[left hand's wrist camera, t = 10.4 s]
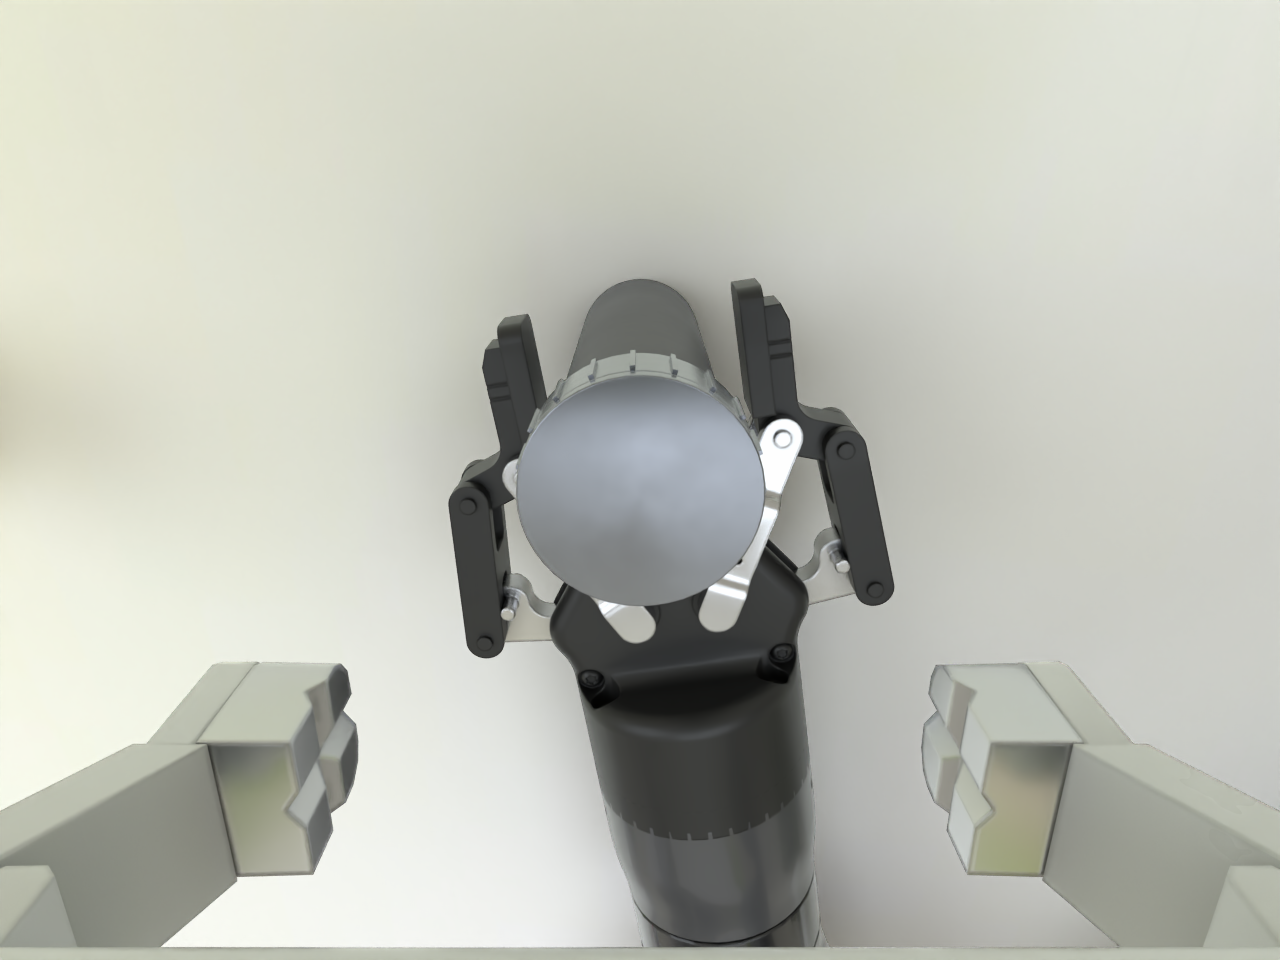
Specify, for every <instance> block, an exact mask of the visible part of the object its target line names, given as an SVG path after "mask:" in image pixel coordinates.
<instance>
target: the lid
mask: <svg viewBox="0 0 1280 960" xmlns="http://www.w3.org/2000/svg"><path fill="white" fill-rule="evenodd" d="M527 432H529V433H530V435H529V437H528V440H527V442H526V443H524V446H523V448H522V451H521V453H520V456H519V459H518V461H517V464H516V468H515V469H517V470H518V472H517V478H516V501H517V510H518V514H519V518H520V522H521V525H522V527H523V530H524V532H525V535H526V537H527V539H528V541H529V543H530V545H531V546H532V548H533V550H534V551H535V553H536V554H537V555H538V557H539V558H540V559H541V561H542V562H543V563H544V564H545V565H546V566H547V567H548V568H549V569H550V570H551V571H552V572H553V573H554V574H555V575H556V576H557V577H559V578H560V579H561V580H562V581H564V582H565V583H566V584H568V585H570V586H571V587H573V588H575V589H576V590H578V591H580V592H582V593H584V594H586V595H588V596H591V597H593V598H596V599H599V600H602V601H605V602H609V603H614V604H619V605H627V606H655V605H662V604H668V603H672V602H676V601H679V600H683V599H686V598H688V597H691V596H693V595H695V594H698V593H700V592H702V591H703V590H705V589H707V588H709V587H711V586H712V585H714V584H715V583H716V582H718V581H719V580H720V579H722V578H723V577H724V576H725V575H726V574H728V573H729V572H730V571H731V570H732V569H733V568H734V567H735V566H736V565H737V563H738V562H739V561H740V560H741V559H742V557H743V556H744V555H745V553H746V552H747V550H748V549H749V547H750V545H751V544H752V542H753V540H754V538H755V536H756V534H757V531H758V529H759V526H760V523H761V520H762V516H763V512H764V505H765V496H766V490H767V488H766V483H765V475H764V468H763V465H762V461H761V458H760V455H763V452H762V449H761V446H760V444H759V441H758V439H757V436H756V434H755V431H754V429H753V430H750V428H749V426H748V423H747V421H746V416H745V414H744V411H743V408H742V406H741V403H740V401H739V399H738V397H737V396H735V397H734V398H733V397H732V396H731V395H730V393H729V392H728V391H727V390H726V388H724V387H723V386H722V385H721V384H720V383H719V382H718V381H717V380H716V379H715V378H713V375H712V372H711V371H709V370H707V371H706V372H705V371H703V370H702V369H700V368H698V367H696V366H694V365H692V364H690V363H688V362H685V361H682V360H680V359H677V358H676V355H675V354H671V355H670V357H669V356H665V355H660V354H651V353H636V350H630V353H629V354H622V355H617V356H611V357H608V358H605V359H602V360H599V361H597V360H596V358H595V359H592V360H591V364H590V365H588V366H585V367H583V368H582V369H580V370H579V371H577V372H575V373H574V374H572V375H571V376H570V377H568V378H567V379H566V380H565V381H564V380H563V379H560V380H559V381H558V384H557V386H556V389H555V390H554V392H553V393H552V394H551V395H550V396H549V397H548V399H547V400H546V402H545V403H544V405H543V406H542V408H541V409H538V408H537V409H536V411H535V413H534V415H533V418H532V420H531V423H530V425H529V428H528V430H527Z"/></svg>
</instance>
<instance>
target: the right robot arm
mask: <svg viewBox="0 0 1280 960" xmlns="http://www.w3.org/2000/svg"><path fill="white" fill-rule="evenodd" d="M731 292H732V301H733V309H734V317H735V326H736V334H737V342H738V351H739V359H740V367H741V376H742V384H743V392H744V399H745V401H746V404H747V406H748V409H749V411H750V413H751V416H750V418H749V421H748V426H749V428H750V430H753V429H754V431H755V434H756V436H757V439H758V441H759V444H760V446H761V449H762V452H763V455H760V458H761V461H762V465H763V468H764V475H765V483H766V488H767V490H766V496H765V505H764V512H763V516H762V520H761V523H760V526H759V529H758V531H757V534H756V536H755V538H754V540H753V542H752V544H751V545H750V547H749V549H748V550H747V552H746V553H745V555H744V556H743V557H742V559H741V560H740V561H739V562H738V563H737V565H736V566H735V567H734V568H733V569H732V570H731V571H730V572H729V573H728V574H726V575H725V576H724V577H723V578H722V579H720V580H719V581H718V582H716V583H715V584H714V585H712V586H711V587H709V588H707V589H705V590H703V591H702V592H700V593H698V594H695V595H693V596H691V597H688V598H686V599H683V600H679V601H676V602H672V603H668V604H662V605H655V606H627V605H619V604H614V603H609V602H605V601H602V600H599V599H596V598H593V597H591V596H588V595H586V594H584V593H582V592H580V591H578V590H576V589H575V588H573V587H571V586H570V585H568V584H566V583H565V582H564V583H563V585H562V587H561V589H560V591H559V593H558V594H557V596H556V598H555V600H554V603H548V602H544V601H542V600H540V599H539V598H538V597H537V596H536V595H535V594H534V592H533V589H532V585H531V583H530V582H529V580H528V579H527V578H525V577H524V576H523V575H521V574H518V573H516V574H511V568H510V558H509V549H508V540H507V530H506V521H505V512H504V504H505V503H507V502H509V501H511V500H513V499H516V478H517V472H518V470H517V469H515V468H516V464H517V461H518V459H519V456H520V453H521V451H522V448H523V446H524V443H526V442H527V440H528V437H529V435H530V433H529V432H527V430H528V428H529V425H530V423H531V420H532V418H533V415H534V413H535V411H536V409H537V408H538V409H541V408H542V406H543V405H544V403H545V402H546V400H547V396H546V391H545V386H544V381H543V376H542V372H541V367H540V362H539V357H538V352H537V347H536V343H535V338H534V333H533V328H532V324H531V320H530V317H529V315H528V314H524V315H518V316H512V317H506V318H504V319H503V320H502V322H501V323H500V324H499V325H498V328H497V335H498V339H494V340H492V342H491V343H490V344H489V346H488V347H487V348H486V349H485V354H484V360H483V366H482V369H483V373H484V378H485V382H486V386H487V391H488V395H489V399H490V403H491V408H492V412H493V416H494V421H495V425H496V429H497V434H498V438H499V442H500V451H499V452H497V453H496V454H494V455H492V456H490V457H489V458H487V459H485V460H475V461H473V462H471V463H470V464H469V465H468V466H467V467H466V469H465V471H464V472H463V474H462V478H461V481H460V483H459V484H458V486H457V487H456V488H455V489H454V491H453V493H452V494H451V496H450V499H449V513H450V521H451V528H452V536H453V543H454V551H455V558H456V566H457V574H458V581H459V589H460V596H461V604H462V611H463V619H464V626H465V634H466V642H467V646H468V648H469V650H470V651H471V652H472V653H473V654H474V655H476V656H478V657H481V658H492V657H495V656H497V655H498V654H500V652H501V651H502V650H503V647H504V644H505V642H524V641H553V643H554V644H555V646H556V647H557V649H558V650H559V651H560V652H561V653H562V654H563V655H564V656H565V657H566V658H567V659H568V661H569V662H570V663H571V665H572V667H573V669H574V672H575V675H576V679H577V684H578V688H579V692H580V697H581V701H582V706H583V710H584V715H585V719H586V724H587V728H588V733H589V737H590V742H591V746H592V751H593V755H594V760H595V765H596V769H597V774H598V779H599V783H600V788H601V792H602V797H603V801H604V806H605V810H606V814H607V819H608V823H609V828H610V833H611V837H612V840H613V844H614V848H615V850H616V853H617V856H618V859H619V861H620V864H621V867H622V869H623V871H624V874H625V876H626V878H627V881H628V884H629V887H630V891H631V896H632V900H633V905H634V910H635V914H636V919H637V923H638V928H639V933H640V937H641V941H642V947H829V944H828V942H827V940H826V937H825V935H824V932H823V929H822V927H821V922H820V910H819V901H818V892H817V883H816V874H815V865H814V856H813V854H814V839H815V804H814V793H813V785H812V776H811V767H810V758H809V747H808V738H807V729H806V720H805V710H804V701H803V692H802V683H801V674H800V664H799V655H798V646H797V636H798V631H799V628H800V625H801V623H802V621H803V619H804V617H805V615H806V613H807V610H808V606H809V605H810V604H814V603H818V602H823V601H827V600H831V599H835V598H839V597H843V596H847V595H851V594H856V596H857V597H858V599H859V600H860V601H861V602H862V603H864V604H866V605H870V606H876V605H880V604H883V603H885V602H886V601H887V600H889V598H890V597H891V596H892V594H893V592H894V582H893V577H892V572H891V567H890V562H889V557H888V552H887V547H886V542H885V537H884V532H883V527H882V522H881V517H880V512H879V507H878V502H877V497H876V492H875V487H874V482H873V477H872V472H871V467H870V462H869V457H868V452H867V447H866V443H865V441H864V439H863V437H862V436H861V435H860V434H859V432H858V431H857V430H856V428H855V427H854V426H853V424H852V423H851V422H850V420H849V419H848V418H847V417H846V415H845V414H844V413H843V412H842V411H841V410H839V409H837V408H833V407H828V408H824V409H818V408H813V407H808V406H804V405H802V404H800V403H799V402H798V401H797V392H796V382H795V372H794V361H793V354H792V353H793V351H792V342H791V330H790V320H789V318H788V316H787V314H786V313H785V311H784V309H783V307H782V305H781V303H780V302H779V301H778V300H777V299H776V298H775V297H774V296H767V297H763V292H762V288H761V285H760V284H759V283H758V281H757V280H756V279H755V278H752V279H746V280H740V281H734V282H731ZM797 456H799V457H805V458H810V459H816V460H817V462H818V466H819V471H820V475H821V480H822V484H823V489H824V493H825V497H826V502H827V506H828V511H829V515H830V520H831V524H832V528H828V529H824V530H823V531H822V532H820V533H819V534H818V535H817V537H816V539H815V541H814V555H813V557H812V559H811V560H810V562H809V563H808V564H806V565H805V566H803V567H801V568H797V566H796V565H795V564H794V563H793V562H792V561H791V560H790V559H789V558H788V557H787V556H786V555H785V554H784V553H783V552H782V551H780V550H779V549H778V548H777V547H776V546H775V545H774V544H773V543H772V542H771V541H770V540H769V539H768V538H769V536H770V533H771V531H772V528H773V526H774V524H775V521H776V519H777V516H778V513H779V510H780V504H781V495H782V492H783V489H784V487H785V484H786V482H787V479H788V477H789V474H790V472H791V470H792V467H793V465H794V462H795V460H796V457H797Z"/></svg>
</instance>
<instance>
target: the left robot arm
mask: <svg viewBox="0 0 1280 960" xmlns="http://www.w3.org/2000/svg"><path fill="white" fill-rule="evenodd" d="M350 696H351V688H350V683H349V677H348V672H347V670H346V669H345V668H344V667H343V665H342V664H330V663H282V662H262V663H259V662H221V663H218V664H214V665H212V666H211V667H210V668H209V669H208V671H207V672H206V673H205V674H204V675H203V677H202V678H201V679H200V680H199V681H198V683H197V684H196V685H195V686H194V687H193V689H192V690H191V691H190V692H189V693H188V695H187V696H186V697H185V698H184V699H183V701H182V702H181V703H180V704H179V705H178V707H177V708H176V709H175V710H174V711H173V712H172V714H171V715H170V716H169V717H168V718H167V720H166V721H165V722H164V723H163V724H162V726H161V727H160V728H159V729H158V730H157V732H156V733H155V734H154V735H153V736H152V738H151V739H150V740H149V741H148V742H147V744H132V745H130V746H128V747H126V748H124V749H122V750H120V751H118V752H116V753H114V754H112V755H110V756H108V757H106V758H104V759H102V760H100V761H98V762H96V763H94V764H92V765H90V766H88V767H86V768H84V769H82V770H81V771H79V772H77V773H75V774H73V775H71V776H69V777H67V778H65V779H63V780H61V781H59V782H57V783H55V784H53V785H51V786H49V787H47V788H45V789H43V790H41V791H39V792H37V793H35V794H33V795H31V796H29V797H27V798H25V799H23V800H21V801H19V802H17V803H15V804H13V805H11V806H9V807H7V808H5V809H3V810H1V811H0V960H1280V811H1278V810H1276V809H1274V808H1272V807H1270V806H1269V805H1267V804H1265V803H1263V802H1261V801H1259V800H1257V799H1255V798H1253V797H1251V796H1249V795H1247V794H1245V793H1243V792H1241V791H1239V790H1237V789H1235V788H1233V787H1231V786H1229V785H1227V784H1225V783H1223V782H1221V781H1219V780H1217V779H1215V778H1213V777H1211V776H1209V775H1207V774H1205V773H1203V772H1201V771H1199V770H1197V769H1195V768H1193V767H1191V766H1189V765H1187V764H1186V763H1184V762H1182V761H1180V760H1178V759H1176V758H1174V757H1172V756H1170V755H1168V754H1166V753H1164V752H1162V751H1160V750H1158V749H1156V748H1154V747H1152V746H1150V745H1148V744H1133V742H1132V741H1131V740H1130V739H1129V738H1128V736H1127V735H1126V734H1125V733H1124V732H1123V730H1122V729H1121V728H1120V727H1119V726H1118V725H1117V723H1116V722H1115V721H1114V720H1113V719H1112V717H1111V716H1110V715H1109V714H1108V713H1107V711H1106V710H1105V709H1104V708H1103V707H1102V705H1101V704H1100V703H1099V702H1098V701H1097V699H1096V698H1095V697H1094V696H1093V695H1092V693H1091V692H1090V691H1089V690H1088V689H1087V687H1086V686H1085V685H1084V684H1083V683H1082V682H1081V680H1080V679H1079V678H1078V677H1077V676H1076V674H1075V673H1074V672H1073V671H1072V670H1071V668H1070V667H1069V666H1068V665H1066V664H1064V663H1061V662H1059V661H1053V662H1025V663H1007V664H960V665H936V666H935V669H934V671H933V673H932V676H931V681H930V687H929V696H930V698H931V700H932V702H933V704H934V705H935V707H936V709H937V711H936V712H935V713H934V714H933V715H932V716H931V717H930V719H929V720H928V721H927V722H926V723H925V724H924V729H923V738H922V747H921V748H922V761H923V771H924V775H925V779H926V783H927V787H928V789H929V791H930V794H931V796H932V798H933V801H934V803H936V804H937V805H939V806H940V807H941V808H943V809H944V810H945V811H947V812H948V813H949V819H948V826H947V832H948V834H949V836H950V839H951V841H952V843H953V845H954V847H955V849H956V852H957V854H958V856H959V858H960V860H961V863H962V865H963V867H964V869H965V871H966V873H967V875H993V876H1029V877H1043V881H1044V882H1045V883H1046V884H1047V885H1048V886H1050V887H1051V888H1052V889H1053V890H1054V891H1055V892H1057V893H1058V894H1059V895H1060V896H1061V897H1062V898H1064V899H1065V900H1066V901H1067V902H1068V903H1069V904H1071V905H1072V906H1073V907H1074V908H1075V909H1076V910H1078V911H1079V912H1080V913H1081V914H1082V915H1083V916H1085V917H1086V918H1087V919H1088V920H1089V921H1090V922H1092V923H1093V924H1094V925H1095V926H1096V927H1097V928H1098V929H1100V930H1101V931H1102V932H1103V933H1104V934H1105V935H1107V936H1108V937H1109V938H1110V939H1111V940H1112V941H1114V942H1115V943H1116V944H1117V945H1118V946H1119V947H161V946H162V945H163V944H164V943H166V942H167V941H168V940H169V939H170V938H171V937H173V936H174V935H175V934H176V933H177V932H178V931H179V930H181V929H182V928H183V927H184V926H185V925H186V924H188V923H189V922H190V921H191V920H192V919H193V918H195V917H196V916H197V915H198V914H199V913H200V912H202V911H203V910H204V909H205V908H206V907H207V906H209V905H210V904H211V903H212V902H213V901H214V900H216V899H217V898H218V897H219V896H220V895H221V894H223V893H224V892H225V891H226V890H227V889H228V888H230V887H231V886H232V885H233V884H234V883H235V882H237V877H250V876H285V875H313V874H314V871H315V869H316V867H317V865H318V863H319V861H320V858H321V856H322V854H323V852H324V850H325V847H326V845H327V843H328V841H329V839H330V836H331V834H332V832H333V826H332V819H331V813H332V812H333V811H335V810H336V809H337V808H339V807H340V806H341V805H343V804H344V803H346V801H347V798H348V796H349V794H350V791H351V789H352V787H353V784H354V779H355V774H356V769H357V763H358V736H357V728H356V724H355V723H354V722H353V721H352V720H351V719H350V717H349V716H348V715H347V714H346V713H345V712H344V711H343V709H344V707H345V706H346V704H347V702H348V700H349V698H350Z"/></svg>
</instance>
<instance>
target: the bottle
mask: <svg viewBox="0 0 1280 960" xmlns="http://www.w3.org/2000/svg"><path fill="white" fill-rule="evenodd" d="M630 350H636V353H651V354H660V355H665V356H669V357H670V355H671V354H675V355H676V358H677V359H680V360H682V361H685V362H688V363H690V364H692V365H694V366H696V367H698V368H700V369H702V370H703V371H705V372H706V371H707V370H709V371H711V372H712V375H713V378H715V377H714V374H713V371H712V368H711V365H710V362H709V359H708V356H707V353H706V349H705V346H704V343H703V340H702V337H701V334H700V331H699V328H698V325H697V321H696V318H695V316H694V313H693V311H692V309H691V308H690V306H689V304H688V303H687V302H686V301H685V299H684V298H683V297H682V296H681V295H680V294H679V293H678V292H676V291H675V290H674V289H672V288H671V287H669V286H667V285H665V284H662V283H660V282H657V281H652V280H645V279H637V280H629V281H625V282H622V283H619V284H617V285H615V286H613V287H611V288H609V289H608V290H606V291H605V292H604V293H603V294H602V295H600V296H599V298H598V299H597V300H596V301H595V302H594V304H593V305H592V307H591V308H590V310H589V312H588V314H587V317H586V320H585V323H584V326H583V329H582V332H581V335H580V338H579V342H578V345H577V348H576V351H575V354H574V357H573V360H572V363H571V367H570V370H569V373H568V376H567V378H568V377H570V376H571V375H572V374H574V373H575V372H577V371H579V370H580V369H582V368H583V367H585V366H588V365H590V364H591V360H592V359H595V358H596V360H597V361H599V360H602V359H605V358H608V357H611V356H617V355H622V354H629V353H630Z"/></svg>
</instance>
